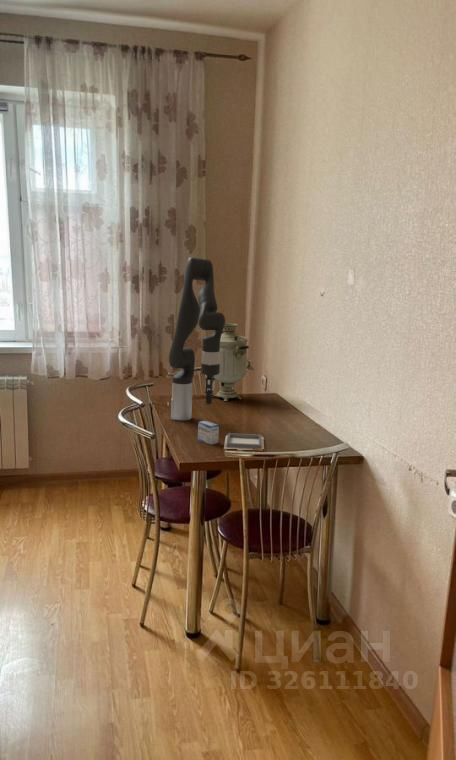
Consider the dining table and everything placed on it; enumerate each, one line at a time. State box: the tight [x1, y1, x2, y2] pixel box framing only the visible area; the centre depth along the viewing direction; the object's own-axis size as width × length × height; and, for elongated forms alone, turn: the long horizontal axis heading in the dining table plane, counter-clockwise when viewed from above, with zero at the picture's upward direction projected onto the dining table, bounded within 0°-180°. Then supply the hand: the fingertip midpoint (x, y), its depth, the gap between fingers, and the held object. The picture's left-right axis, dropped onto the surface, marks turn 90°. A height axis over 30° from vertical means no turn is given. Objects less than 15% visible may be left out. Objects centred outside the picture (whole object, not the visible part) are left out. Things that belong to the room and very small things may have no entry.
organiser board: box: [223, 432, 265, 451], centre depth 250 cm, size 16×17×3 cm
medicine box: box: [197, 420, 220, 446], centre depth 250 cm, size 8×4×9 cm, turn 47°
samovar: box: [213, 322, 255, 402], centre depth 323 cm, size 30×26×40 cm
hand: (209, 401), depth 248 cm, fingers open, 8 cm apart
